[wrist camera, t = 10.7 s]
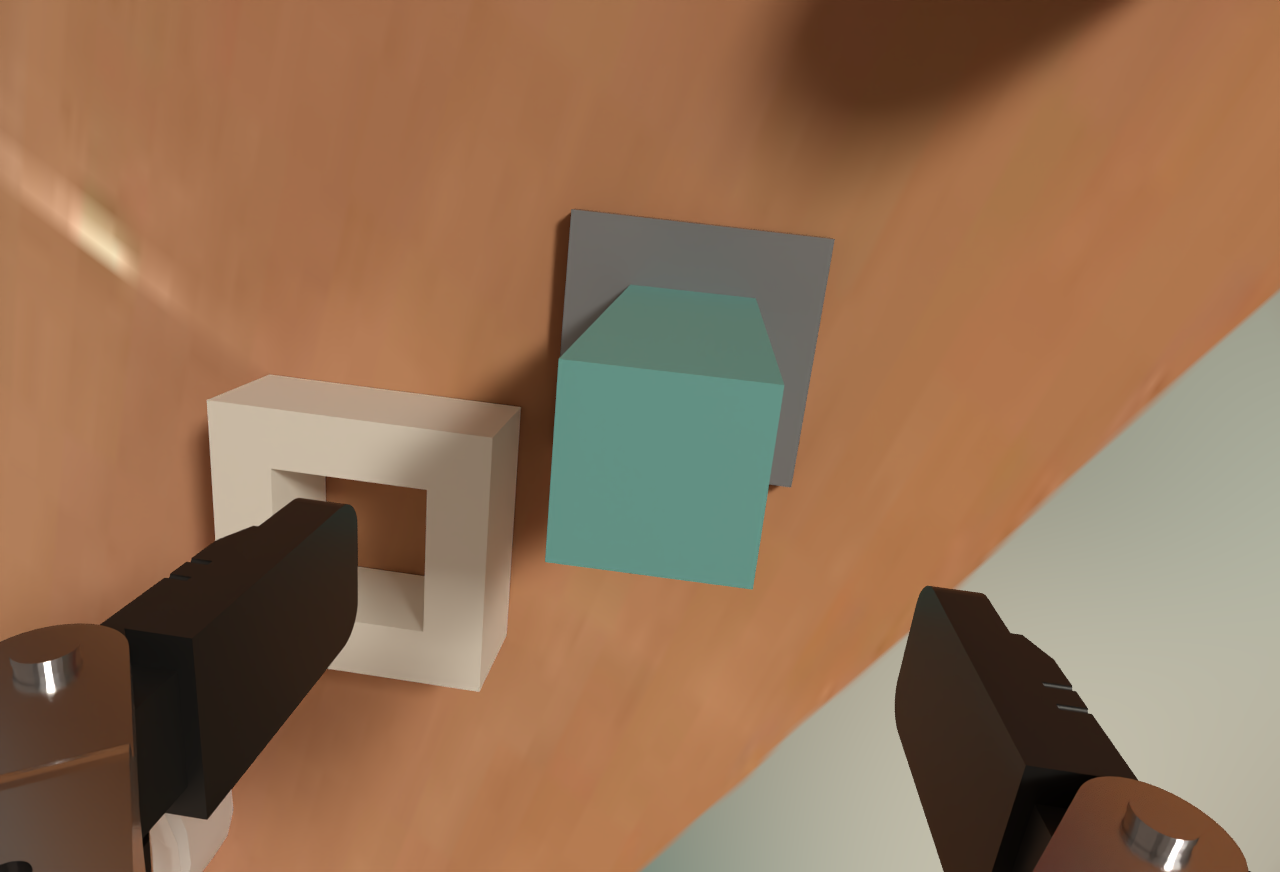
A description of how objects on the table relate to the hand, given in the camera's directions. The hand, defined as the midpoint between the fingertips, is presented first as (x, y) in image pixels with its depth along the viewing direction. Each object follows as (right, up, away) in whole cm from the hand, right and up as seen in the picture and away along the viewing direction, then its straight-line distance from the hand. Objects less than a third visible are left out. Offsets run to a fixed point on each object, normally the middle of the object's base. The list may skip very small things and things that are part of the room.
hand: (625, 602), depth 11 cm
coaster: (+2, +6, +18) cm, 19 cm away
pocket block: (-10, -1, +21) cm, 23 cm away
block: (+2, +5, +17) cm, 18 cm away
